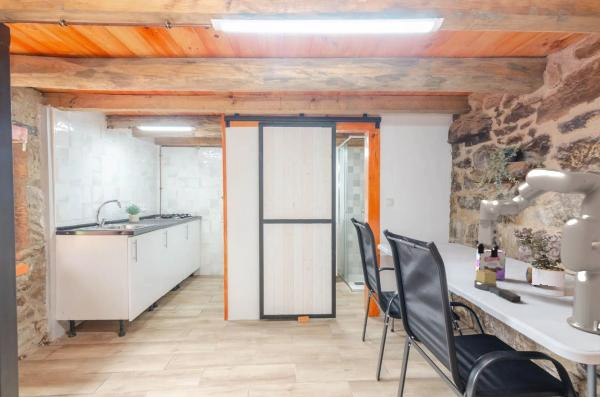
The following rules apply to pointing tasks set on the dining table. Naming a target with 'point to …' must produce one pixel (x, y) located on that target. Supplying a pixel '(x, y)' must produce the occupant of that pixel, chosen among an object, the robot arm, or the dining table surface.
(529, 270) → the tin
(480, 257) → the candy box
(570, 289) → the dining table surface
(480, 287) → the ratchet
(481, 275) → the tan cube
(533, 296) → the dining table surface
